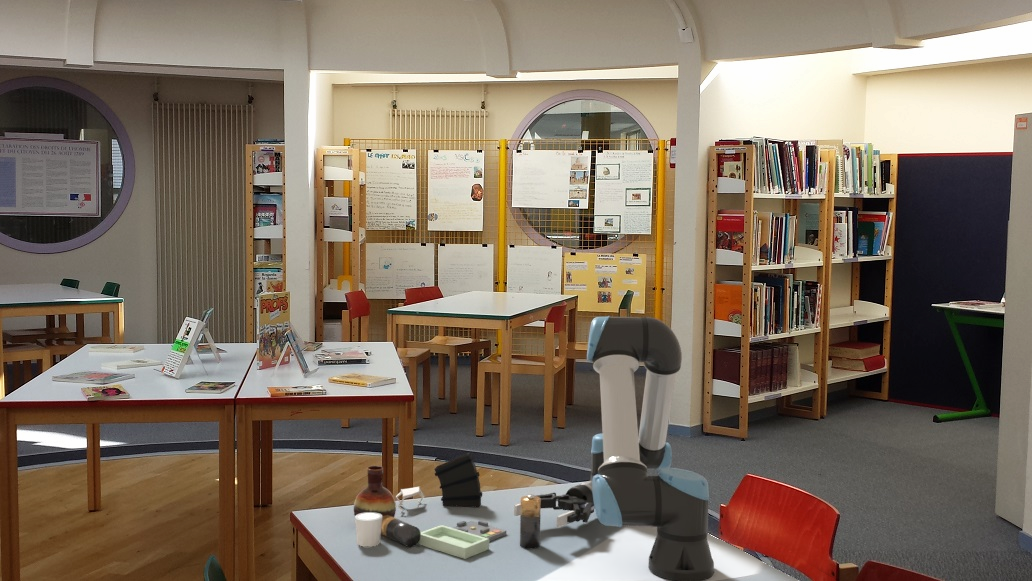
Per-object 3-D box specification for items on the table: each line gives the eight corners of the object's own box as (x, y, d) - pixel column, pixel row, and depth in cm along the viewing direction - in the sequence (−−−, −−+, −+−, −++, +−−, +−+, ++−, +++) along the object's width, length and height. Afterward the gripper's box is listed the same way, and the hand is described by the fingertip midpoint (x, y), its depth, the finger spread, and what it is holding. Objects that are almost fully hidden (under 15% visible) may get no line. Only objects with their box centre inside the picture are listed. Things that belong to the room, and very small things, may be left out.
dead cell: (420, 544, 232) (420, 525, 231) (404, 549, 228) (404, 529, 228) (391, 531, 241) (391, 512, 241) (375, 535, 238) (375, 516, 237)
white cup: (366, 550, 227) (366, 522, 227) (348, 543, 232) (349, 515, 231) (388, 543, 232) (388, 516, 232) (370, 536, 237) (370, 509, 236)
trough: (489, 549, 229) (489, 538, 229) (464, 558, 222) (465, 548, 222) (441, 534, 239) (441, 524, 239) (416, 543, 232) (417, 533, 232)
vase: (358, 517, 252) (358, 461, 251) (398, 518, 251) (399, 462, 250) (349, 531, 241) (349, 472, 240) (392, 532, 240) (392, 473, 239)
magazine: (490, 503, 261) (468, 454, 261) (449, 520, 263) (427, 472, 263) (492, 499, 265) (471, 451, 265) (451, 516, 267) (430, 469, 267)
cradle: (506, 534, 240) (506, 527, 240) (483, 543, 233) (483, 536, 233) (471, 524, 248) (471, 517, 248) (448, 532, 241) (448, 526, 241)
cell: (543, 545, 232) (545, 495, 231) (529, 550, 229) (530, 499, 228) (530, 540, 236) (531, 491, 235) (515, 544, 233) (516, 494, 232)
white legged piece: (397, 501, 267) (397, 484, 267) (426, 502, 266) (426, 486, 266) (388, 514, 255) (388, 497, 255) (418, 516, 255) (418, 498, 254)
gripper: (622, 521, 244) (576, 541, 228) (547, 502, 260) (498, 520, 243) (623, 493, 244) (577, 512, 227) (547, 475, 259) (498, 492, 243)
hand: (536, 516), depth 235 cm, fingers open, 13 cm apart
